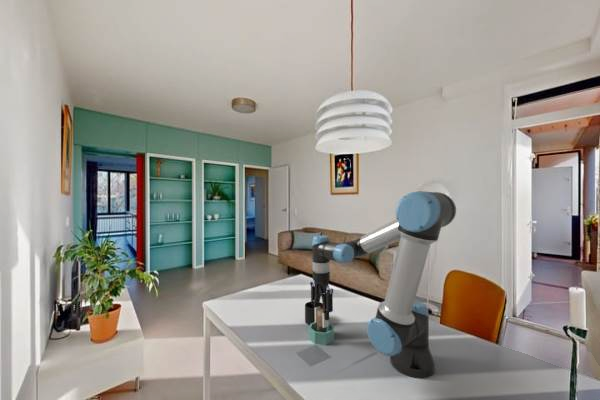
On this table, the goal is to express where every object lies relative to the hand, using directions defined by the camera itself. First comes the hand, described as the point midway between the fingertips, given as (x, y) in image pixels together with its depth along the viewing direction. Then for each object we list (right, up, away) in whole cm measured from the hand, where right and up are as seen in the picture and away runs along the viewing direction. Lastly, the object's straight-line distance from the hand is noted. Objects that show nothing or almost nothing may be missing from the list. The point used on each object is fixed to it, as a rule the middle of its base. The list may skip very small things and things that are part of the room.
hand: (321, 324), depth 111 cm
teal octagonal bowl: (0, -7, 0) cm, 7 cm away
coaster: (-4, -7, -13) cm, 15 cm away
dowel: (0, -6, 0) cm, 6 cm away
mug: (-1, -7, +15) cm, 16 cm away
